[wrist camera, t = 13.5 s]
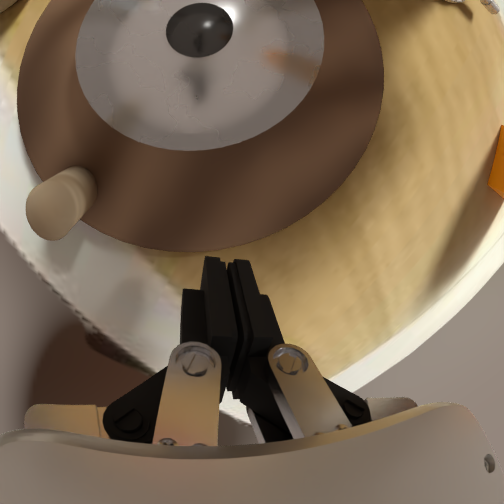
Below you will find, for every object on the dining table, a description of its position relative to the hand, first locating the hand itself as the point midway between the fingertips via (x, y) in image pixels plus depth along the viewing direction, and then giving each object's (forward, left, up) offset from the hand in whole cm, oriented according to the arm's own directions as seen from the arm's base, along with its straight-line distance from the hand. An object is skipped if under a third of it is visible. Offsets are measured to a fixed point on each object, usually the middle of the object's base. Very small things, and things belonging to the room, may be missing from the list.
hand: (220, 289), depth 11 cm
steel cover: (+3, -10, -7) cm, 13 cm away
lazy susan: (+2, -10, -10) cm, 14 cm away
